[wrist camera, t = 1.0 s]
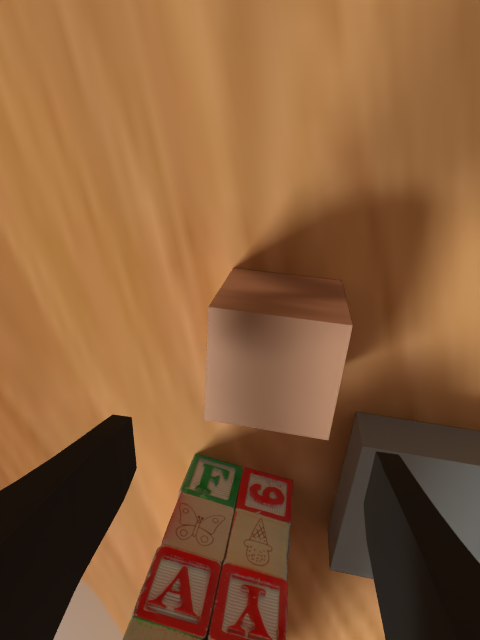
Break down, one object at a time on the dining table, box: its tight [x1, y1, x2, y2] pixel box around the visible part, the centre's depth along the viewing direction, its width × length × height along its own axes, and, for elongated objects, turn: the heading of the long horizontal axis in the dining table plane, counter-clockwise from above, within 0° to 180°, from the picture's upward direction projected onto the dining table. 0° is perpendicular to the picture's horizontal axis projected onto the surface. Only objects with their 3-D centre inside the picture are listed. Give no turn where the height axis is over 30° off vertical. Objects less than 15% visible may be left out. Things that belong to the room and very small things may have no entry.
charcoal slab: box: [328, 412, 480, 579], centre depth 20 cm, size 9×9×3 cm
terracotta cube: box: [204, 268, 353, 440], centre depth 16 cm, size 5×5×5 cm
